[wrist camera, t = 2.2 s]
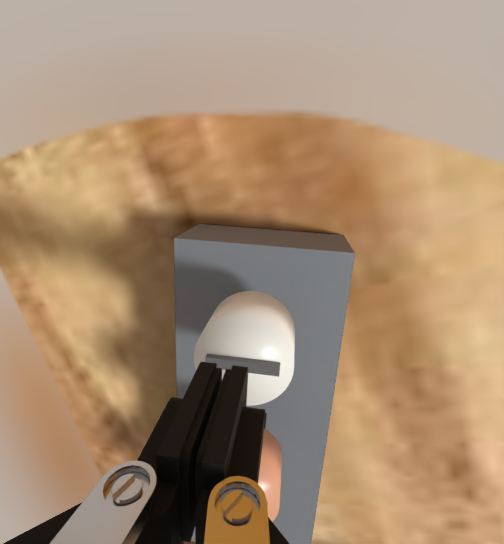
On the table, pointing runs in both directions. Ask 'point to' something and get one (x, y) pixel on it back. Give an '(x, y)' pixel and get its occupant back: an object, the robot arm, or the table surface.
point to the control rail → (308, 336)
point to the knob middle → (271, 473)
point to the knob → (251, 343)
